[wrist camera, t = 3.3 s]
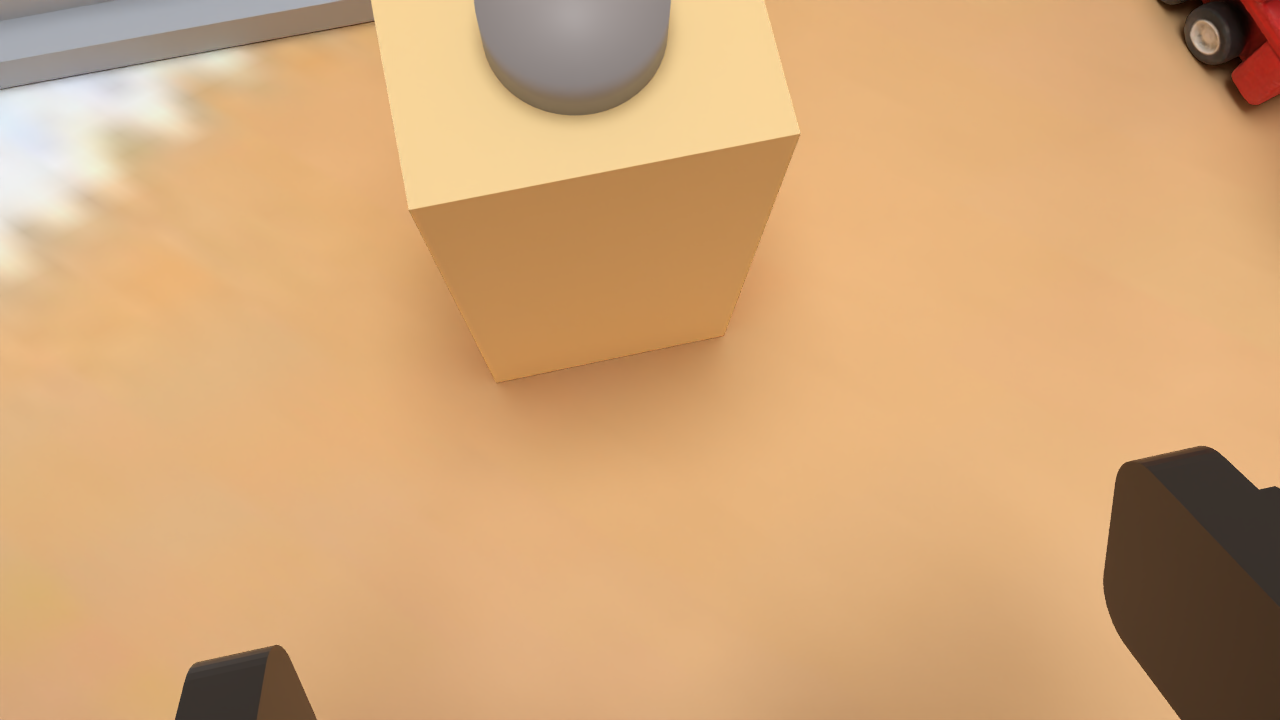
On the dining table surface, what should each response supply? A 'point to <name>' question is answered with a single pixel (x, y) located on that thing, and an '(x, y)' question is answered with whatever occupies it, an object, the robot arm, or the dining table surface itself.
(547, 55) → the tan knobbed block
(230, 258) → the dining table surface
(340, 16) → the grey insertion tray
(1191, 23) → the toy fire truck
